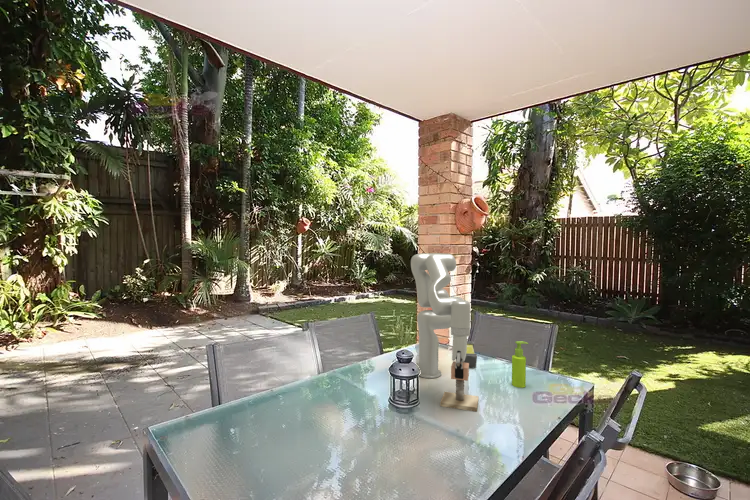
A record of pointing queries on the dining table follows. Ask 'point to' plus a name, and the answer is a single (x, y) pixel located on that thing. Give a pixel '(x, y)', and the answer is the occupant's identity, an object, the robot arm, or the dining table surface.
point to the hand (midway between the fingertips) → (460, 374)
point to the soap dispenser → (519, 366)
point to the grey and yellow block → (471, 354)
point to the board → (459, 404)
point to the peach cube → (465, 371)
